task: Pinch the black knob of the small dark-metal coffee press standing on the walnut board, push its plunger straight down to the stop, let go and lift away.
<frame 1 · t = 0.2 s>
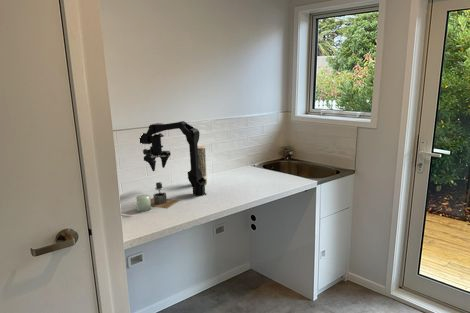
hand: (158, 169, 220), 14 cm above the table, fingers open, 9 cm apart
plunger: (159, 189, 199), point 9 cm above the table, slide at 0.0 cm
paper tube: (201, 184, 237), on the table
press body: (160, 202, 200), resting on walnut board
sage mug: (144, 210, 191), on the table
walnut board: (160, 203, 201), on the table
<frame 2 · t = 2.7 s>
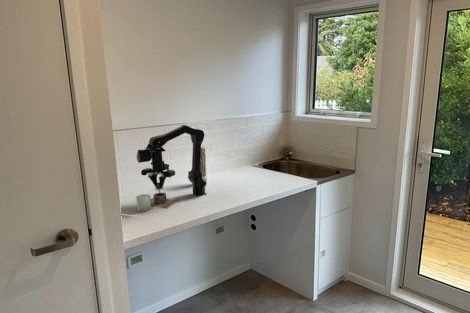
hand: (159, 187, 199), 9 cm above the table, fingers closed on plunger, 3 cm apart
plunger: (159, 189, 199), point 9 cm above the table, slide at 0.0 cm, touching gripper
everything else where it was.
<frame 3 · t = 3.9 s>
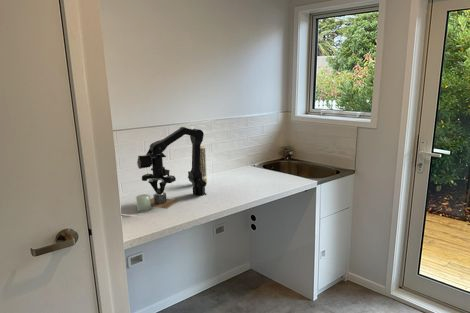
hand: (159, 193, 199), 6 cm above the table, fingers closed on plunger, 3 cm apart
plunger: (159, 194, 199), point 5 cm above the table, slide at 3.2 cm, touching gripper
everything else where it was.
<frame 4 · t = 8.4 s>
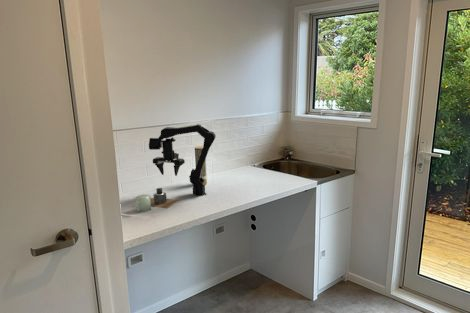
hand: (169, 175, 211), 13 cm above the table, fingers open, 9 cm apart
plunger: (159, 194, 199), point 5 cm above the table, slide at 3.3 cm
everything else where it was.
at the end: plunger slide at 3.3 cm; the gripper is holding nothing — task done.
